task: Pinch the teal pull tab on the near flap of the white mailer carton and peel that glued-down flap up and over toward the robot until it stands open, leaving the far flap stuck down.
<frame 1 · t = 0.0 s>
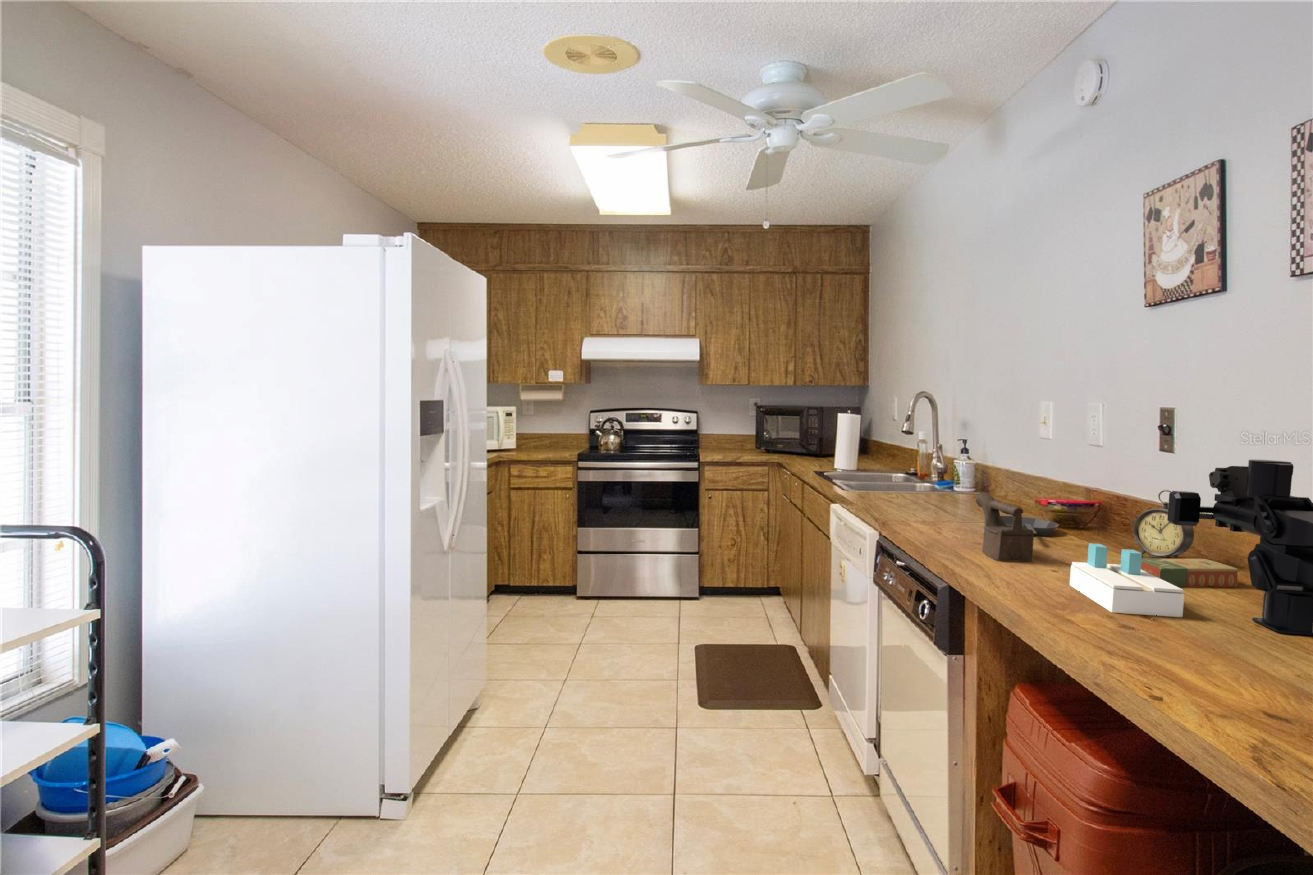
hand: (1199, 503, 137), 17 cm above the worktop, tool horizontal, fingers open, 9 cm apart
alarm clock: (1162, 561, 160), on the worktop
frying pan: (1024, 536, 185), on the worktop
carton: (1181, 583, 142), on the worktop
flap far: (1105, 564, 127), point 6 cm above the worktop, hinge at 0.0°
flap near: (1143, 566, 126), point 6 cm above the worktop, hinge at 0.0°
carton box: (1121, 600, 127), on the worktop
clothes iron: (1001, 555, 161), on the worktop
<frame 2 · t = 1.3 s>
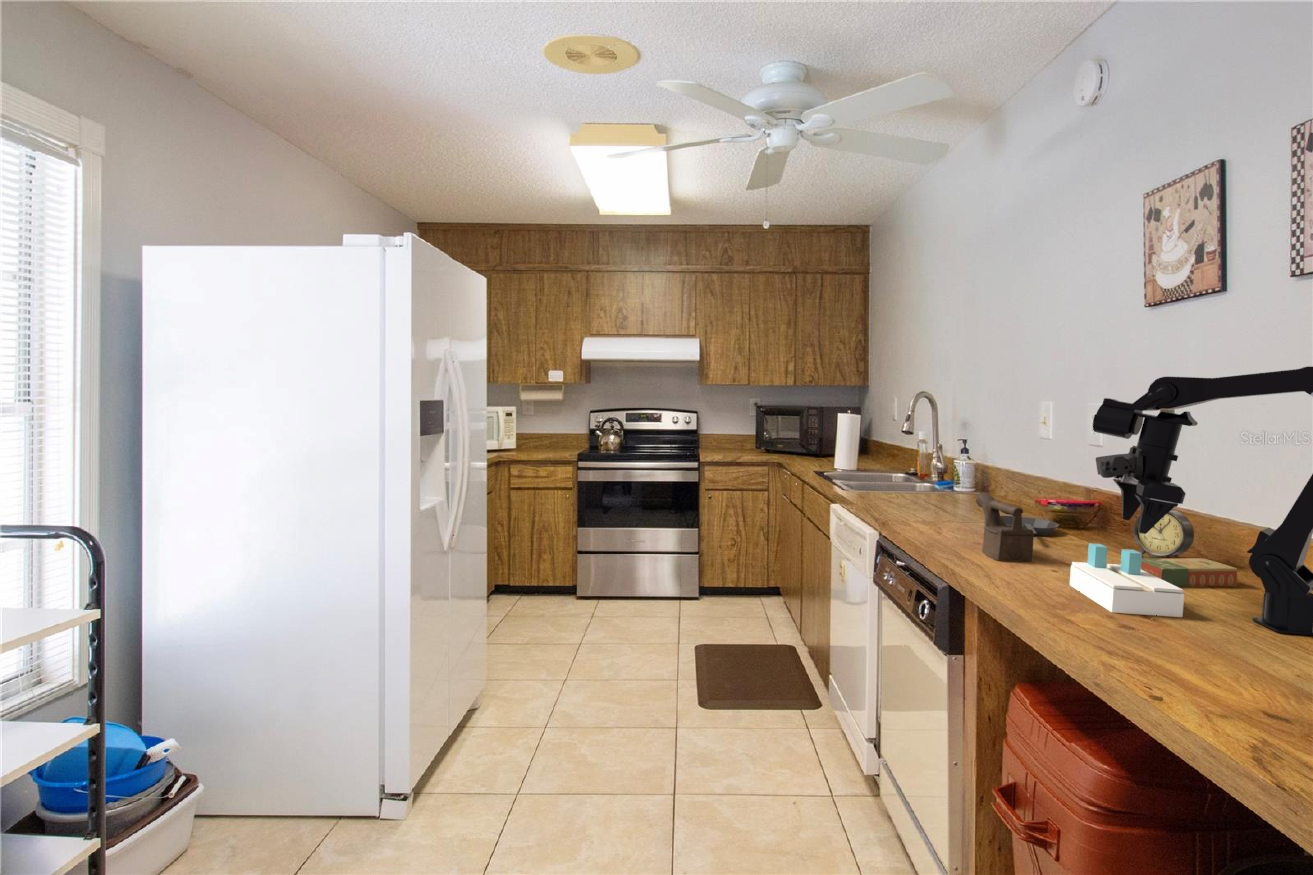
hand: (1133, 526, 130), 13 cm above the worktop, tool pointing down, fingers open, 9 cm apart
nothing on the worktop moved.
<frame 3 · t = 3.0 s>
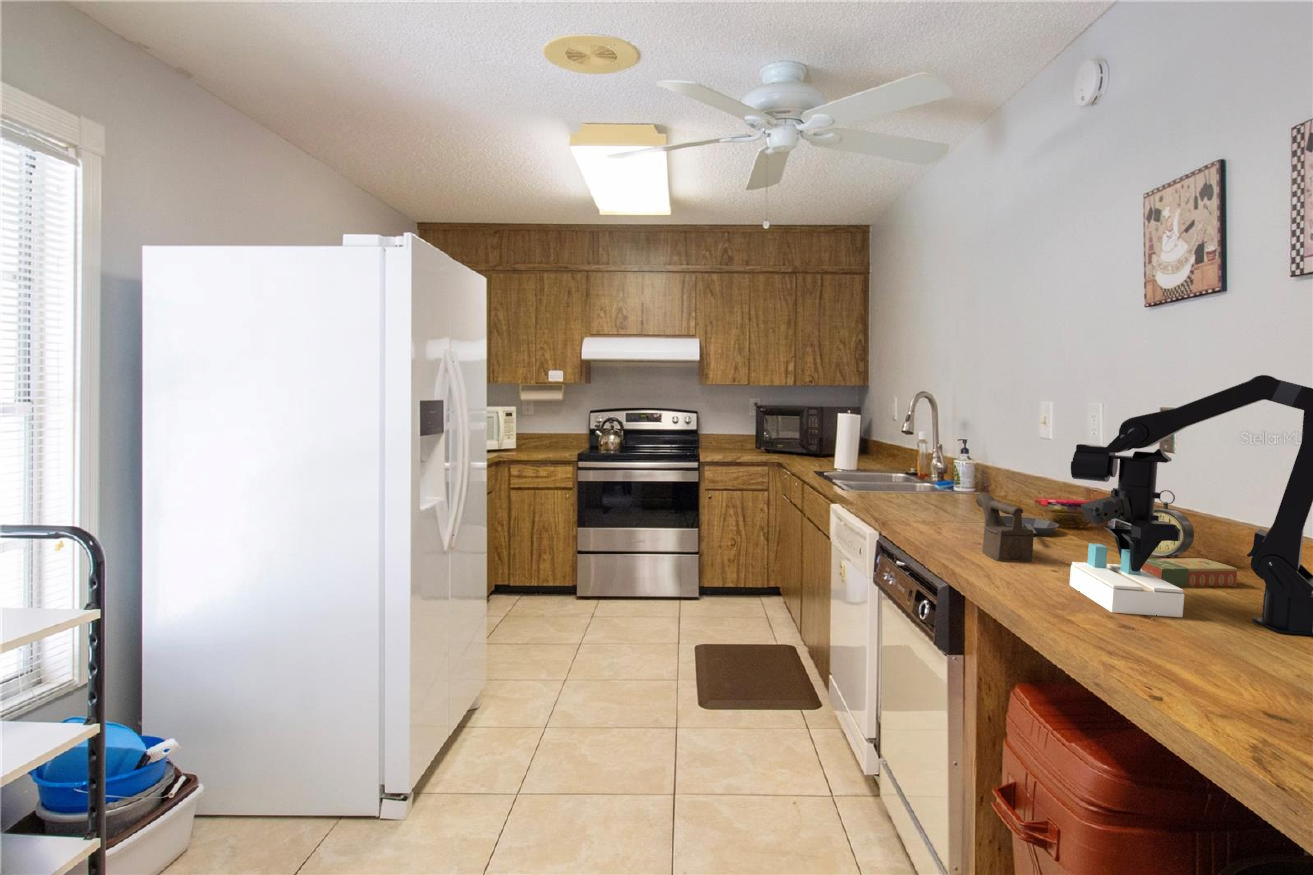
hand: (1130, 568, 128), 5 cm above the worktop, tool pointing down, fingers closed on flap near, 3 cm apart
flap near: (1143, 566, 126), point 6 cm above the worktop, hinge at 0.0°, touching gripper
everything else where it was.
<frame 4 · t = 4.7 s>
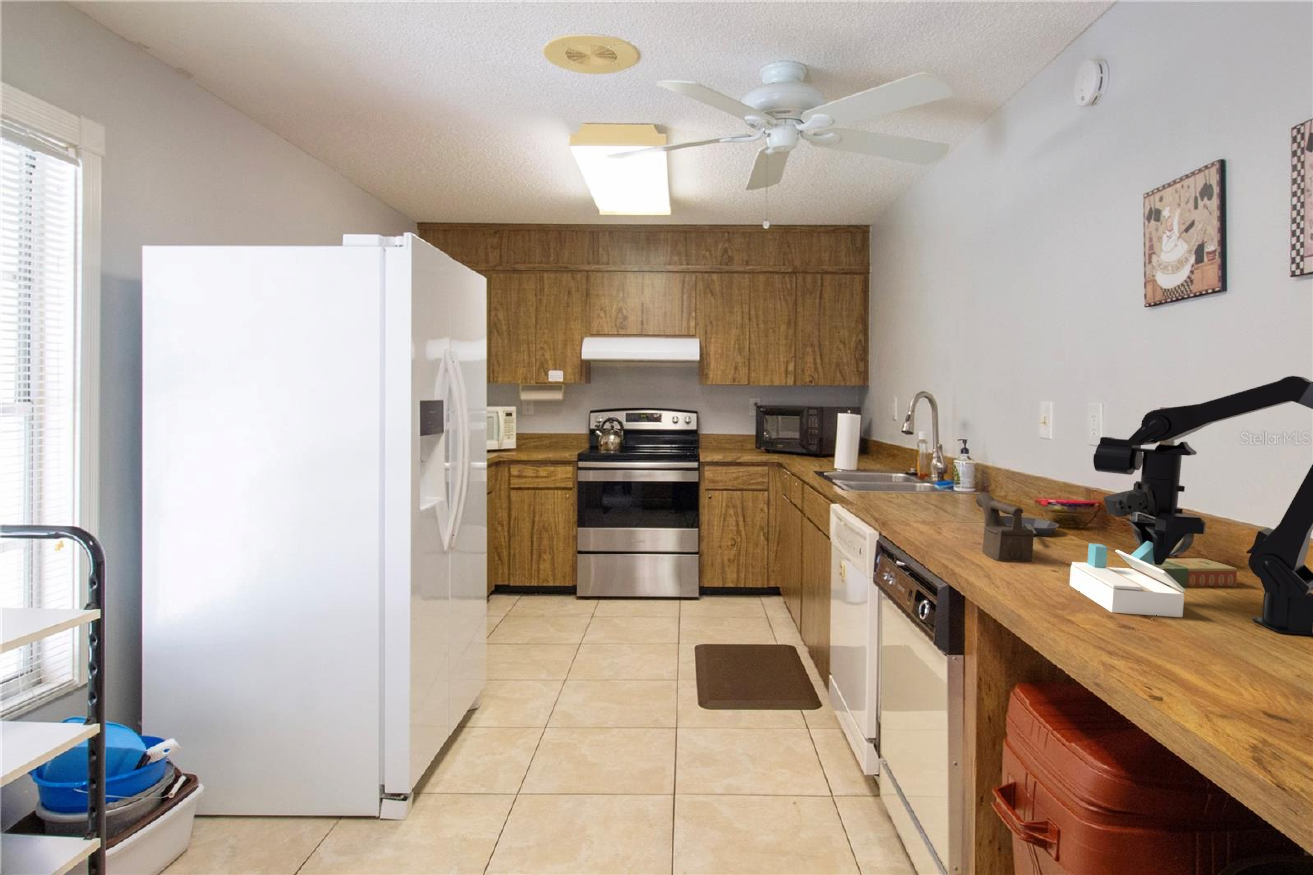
hand: (1152, 562, 128), 7 cm above the worktop, tool pointing down, fingers closed on flap near, 3 cm apart
flap near: (1156, 561, 126), point 7 cm above the worktop, hinge at 42.2°, touching gripper
everything else where it was.
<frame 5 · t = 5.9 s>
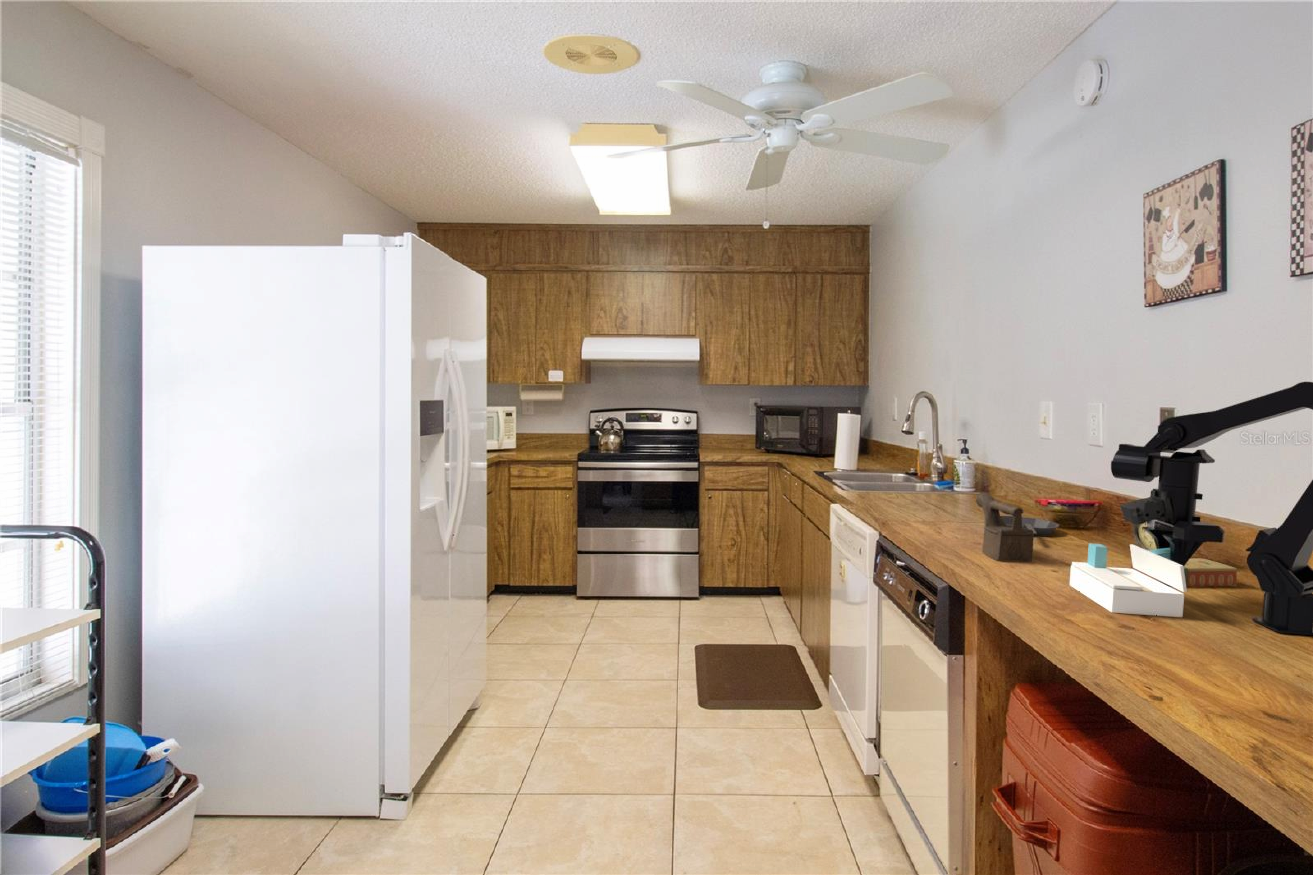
hand: (1170, 570, 127), 6 cm above the worktop, tool pointing down, fingers closed on flap near, 3 cm apart
flap near: (1168, 565, 126), point 7 cm above the worktop, hinge at 78.9°, touching gripper
everything else where it was.
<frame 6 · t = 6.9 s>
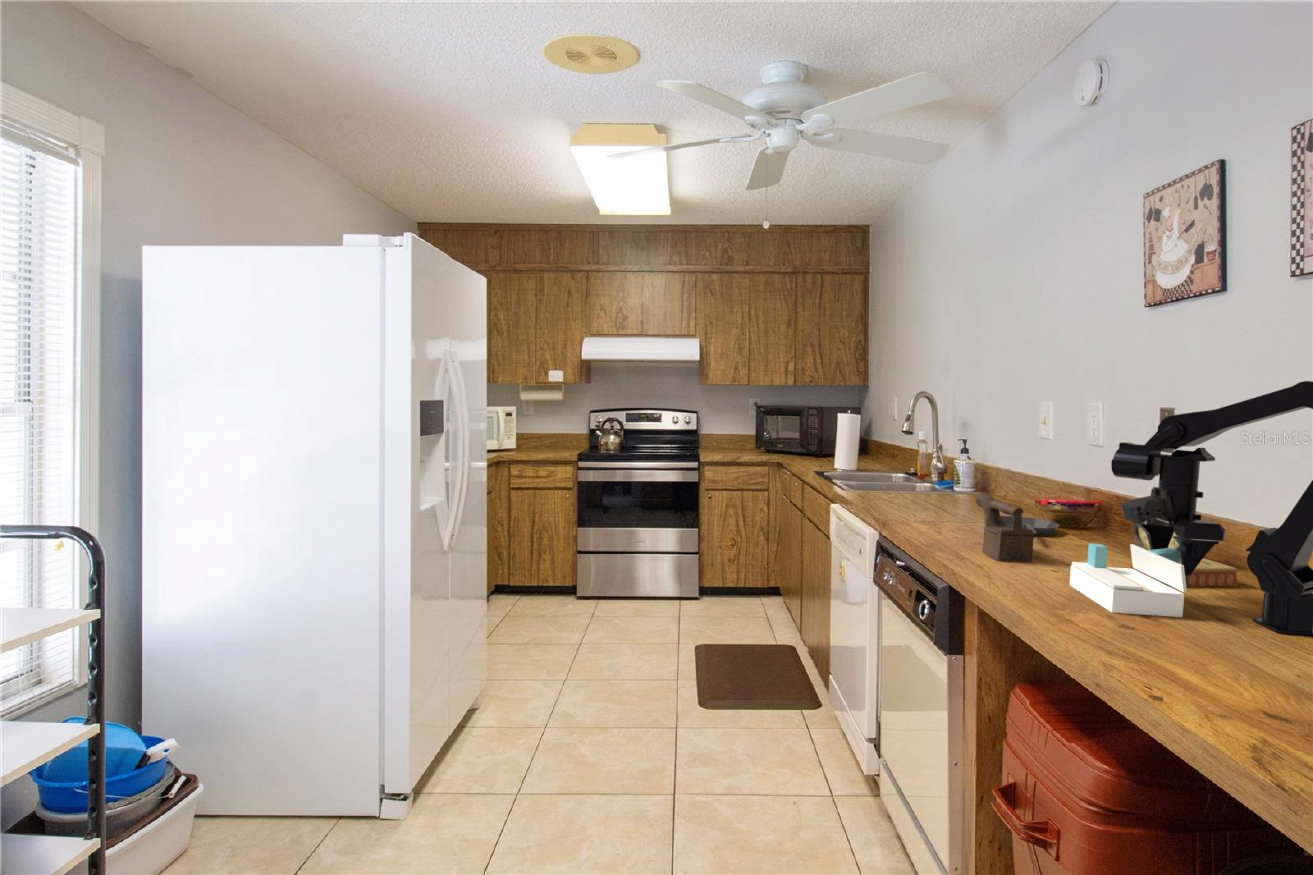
hand: (1171, 568, 127), 6 cm above the worktop, tool pointing down, fingers open, 9 cm apart
flap near: (1168, 565, 126), point 7 cm above the worktop, hinge at 79.8°
everything else where it was.
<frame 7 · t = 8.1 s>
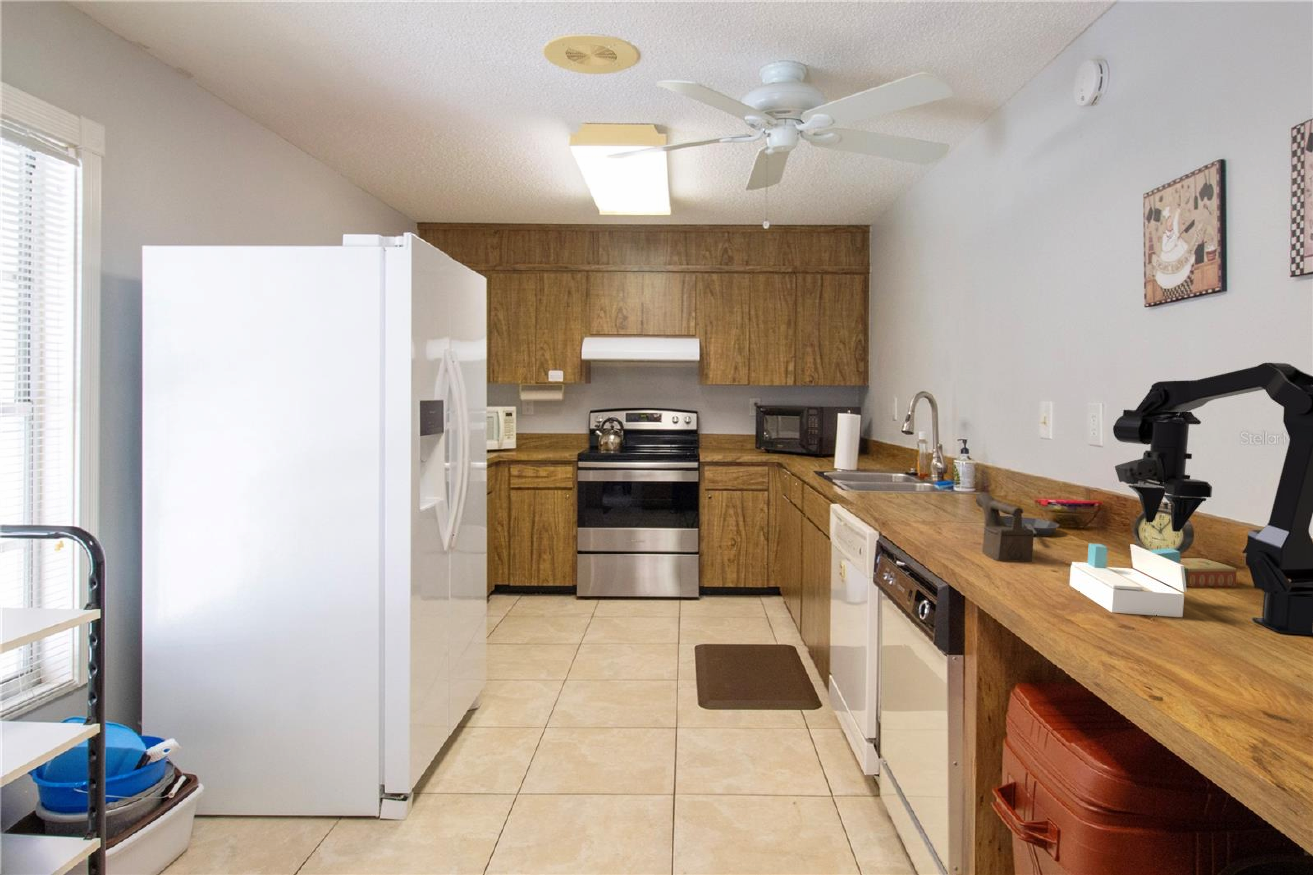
hand: (1162, 526, 135), 12 cm above the worktop, tool pointing down, fingers open, 9 cm apart
nothing on the worktop moved.
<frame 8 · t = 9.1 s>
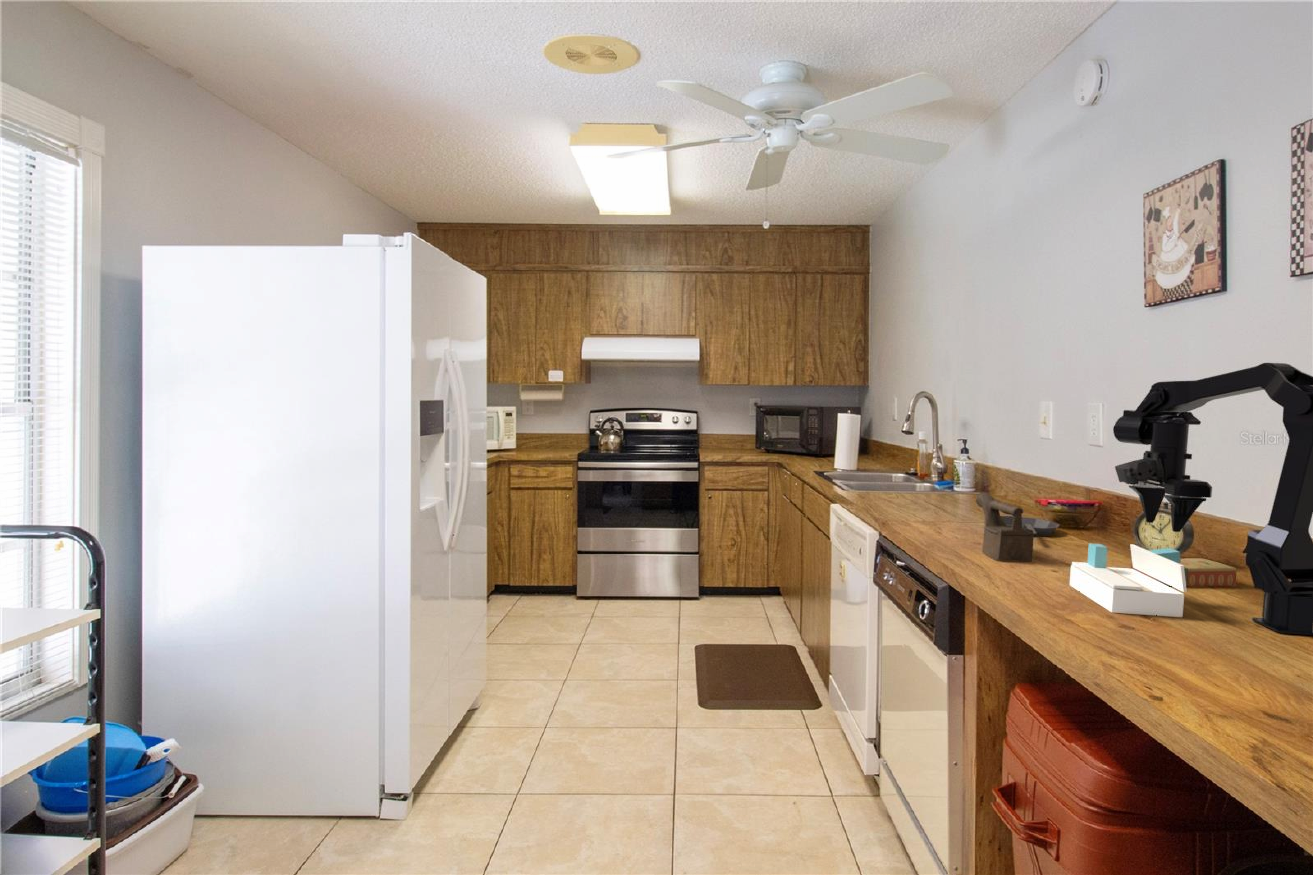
hand: (1162, 527, 135), 12 cm above the worktop, tool pointing down, fingers open, 9 cm apart
nothing on the worktop moved.
at the end: flap near at +80° (first picture: +0°); flap far at +0° (first picture: +0°); the gripper is holding nothing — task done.
